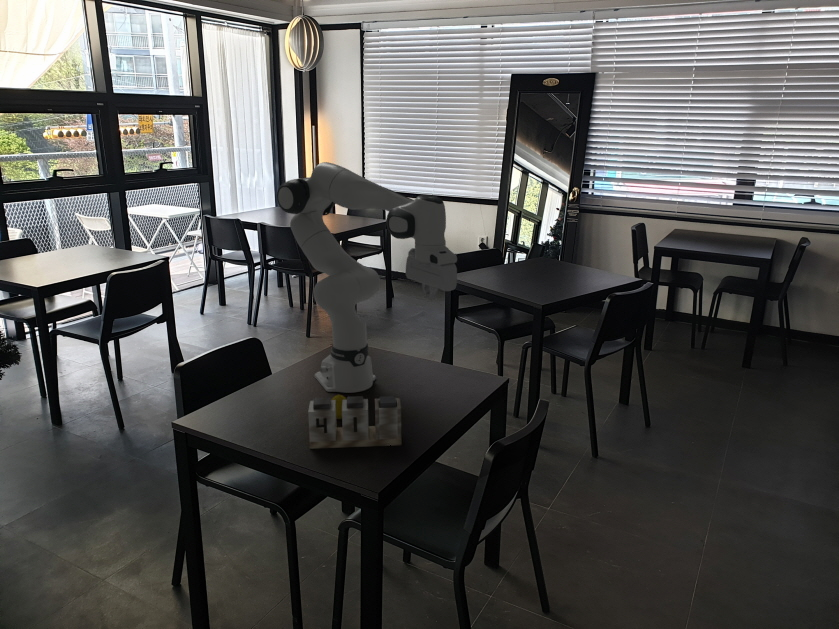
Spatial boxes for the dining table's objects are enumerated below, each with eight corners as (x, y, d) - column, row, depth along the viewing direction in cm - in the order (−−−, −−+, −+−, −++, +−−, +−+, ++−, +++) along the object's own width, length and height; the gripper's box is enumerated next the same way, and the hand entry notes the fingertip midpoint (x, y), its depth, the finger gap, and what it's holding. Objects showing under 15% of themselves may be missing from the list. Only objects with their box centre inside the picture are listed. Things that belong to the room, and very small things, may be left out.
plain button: (380, 424, 178) (379, 403, 176) (379, 417, 182) (379, 396, 180) (396, 424, 178) (396, 402, 176) (395, 417, 182) (395, 396, 180)
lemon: (349, 414, 195) (348, 390, 193) (348, 423, 190) (347, 398, 188) (331, 415, 195) (330, 390, 193) (329, 423, 190) (328, 398, 187)
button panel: (309, 448, 176) (307, 408, 172) (312, 433, 184) (310, 394, 181) (401, 445, 177) (401, 405, 174) (399, 429, 186) (399, 391, 182)
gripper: (400, 248, 191) (400, 293, 195) (443, 260, 176) (442, 309, 180) (417, 245, 195) (417, 290, 199) (461, 257, 179) (460, 305, 183)
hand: (429, 299), depth 189 cm, fingers closed
